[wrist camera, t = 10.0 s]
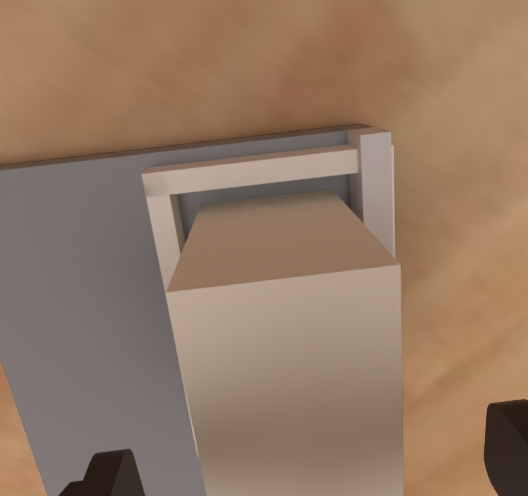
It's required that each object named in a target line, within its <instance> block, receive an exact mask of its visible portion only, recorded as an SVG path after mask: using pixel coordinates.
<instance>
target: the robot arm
mask: <svg viewBox="0 0 528 496" xmlns="http://www.w3.org/2000/svg"><path fill="white" fill-rule="evenodd" d="M484 462H485V467H486V471H487V474H488V477H489V479H490V482H491V484H492V486H493V487H494V489H495V491H496V492H497V494H498V496H528V400H526V399H521V400H513V401H505V402H498V403H491V404H489V405H488V408H487V416H486V431H485V446H484ZM59 496H145V493H144V489H143V486H142V482H141V479H140V475H139V472H138V468H137V465H136V461H135V458H134V455H133V452H132V451H131V449H122V450H114V451H107V452H99V453H95V454H94V455H93V457H92V458H91V461H90V463H89V466H88V468H87V471H86V473H85V476H84V478H83V480H81V481H74V482H70V483H69V484H68V485H67V486H66V487H65V489H64V490H63V491H62V492H61V493H60V494H59Z"/></svg>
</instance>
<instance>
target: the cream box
mask: <svg viewBox="0 0 528 496" xmlns="http://www.w3.org/2000/svg"><path fill="white" fill-rule="evenodd" d="M166 295H167V300H168V305H169V310H170V315H171V320H172V325H173V330H174V335H175V340H176V345H177V350H178V355H179V360H180V365H181V370H182V375H183V380H184V385H185V390H186V395H187V400H188V405H189V410H190V415H191V420H192V425H193V430H194V435H195V440H196V445H197V450H198V455H199V460H200V465H201V470H202V475H203V480H204V485H205V490H206V495H207V496H404V463H403V389H402V315H401V264H400V263H399V262H398V261H397V260H396V259H395V258H394V257H393V255H392V254H391V253H390V252H389V251H388V250H387V249H386V248H385V247H384V246H383V244H382V243H381V242H380V241H379V240H378V239H377V238H376V237H375V236H374V235H373V233H372V232H371V231H370V230H369V229H368V228H367V227H366V226H365V225H364V224H363V223H362V221H361V220H360V219H359V218H358V217H357V216H356V215H355V214H354V213H353V212H352V210H351V209H350V208H349V207H348V206H347V205H346V204H345V203H344V202H343V201H342V199H341V198H340V197H339V196H338V195H337V194H336V193H335V192H334V191H333V190H332V189H328V190H319V191H311V192H302V193H294V194H286V195H277V196H269V197H260V198H252V199H244V200H235V201H227V202H218V203H210V204H201V206H200V208H199V211H198V213H197V216H196V218H195V221H194V223H193V226H192V228H191V231H190V233H189V236H188V238H187V241H186V243H185V246H184V248H183V251H182V253H181V256H180V258H179V261H178V263H177V266H176V269H175V271H174V274H173V276H172V279H171V281H170V284H169V286H168V289H167V291H166Z"/></svg>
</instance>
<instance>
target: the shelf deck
mask: <svg viewBox="0 0 528 496" xmlns="http://www.w3.org/2000/svg"><path fill="white" fill-rule="evenodd" d="M328 189H332V190H333V191H334V192H335V193H336V194H337V195H338V196H339V197H340V198H341V199H342V201H343V202H344V203H345V204H346V205H347V206H348V207H349V208H350V209H351V210H352V212H353V213H354V214H355V215H356V216H357V217H358V218H359V219H360V220H361V221H362V223H363V224H364V225H365V226H366V227H367V228H368V229H369V230H370V231H371V232H372V233H373V235H374V236H375V237H376V238H377V239H378V240H379V241H380V242H381V243H382V244H383V246H384V247H385V248H386V249H387V250H388V251H389V252H390V253H391V254H392V255H393V257H394V258H395V200H394V145H391V131H387V130H383V129H379V128H375V127H371V126H368V125H364V124H355V125H346V126H338V127H329V128H320V129H312V130H303V131H294V132H286V133H277V134H268V135H260V136H251V137H243V138H234V139H225V140H217V141H208V142H199V143H191V144H182V145H173V146H165V147H156V148H148V149H139V150H130V151H122V152H113V153H104V154H96V155H87V156H78V157H70V158H61V159H53V160H44V161H35V162H27V163H18V164H9V165H1V166H0V360H1V363H2V366H3V369H4V372H5V374H6V377H7V380H8V383H9V386H10V389H11V392H12V395H13V397H14V400H15V403H16V406H17V409H18V412H19V415H20V418H21V420H22V423H23V426H24V429H25V432H26V435H27V438H28V441H29V443H30V446H31V449H32V452H33V455H34V458H35V461H36V464H37V466H38V469H39V472H40V475H41V478H42V481H43V484H44V487H45V489H46V492H47V495H48V496H59V494H60V493H61V492H62V491H63V490H64V489H65V487H66V486H67V485H68V484H69V483H70V482H74V481H81V480H83V478H84V476H85V473H86V471H87V468H88V466H89V463H90V461H91V458H92V457H93V455H94V454H95V453H99V452H107V451H114V450H122V449H131V451H132V452H133V455H134V458H135V461H136V465H137V468H138V472H139V475H140V479H141V482H142V486H143V489H144V493H145V496H207V495H206V490H205V485H204V480H203V475H202V470H201V465H200V460H199V455H198V450H197V445H196V440H195V435H194V430H193V425H192V420H191V415H190V410H189V405H188V400H187V395H186V390H185V385H184V380H183V375H182V370H181V365H180V360H179V355H178V350H177V345H176V340H175V335H174V330H173V325H172V320H171V315H170V310H169V305H168V300H167V295H166V291H167V289H168V286H169V284H170V281H171V279H172V276H173V274H174V271H175V269H176V266H177V263H178V261H179V258H180V256H181V253H182V251H183V248H184V246H185V243H186V241H187V238H188V236H189V233H190V231H191V228H192V226H193V223H194V221H195V218H196V216H197V213H198V211H199V208H200V206H201V204H210V203H218V202H227V201H235V200H244V199H252V198H260V197H269V196H277V195H286V194H294V193H302V192H311V191H319V190H328Z"/></svg>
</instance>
